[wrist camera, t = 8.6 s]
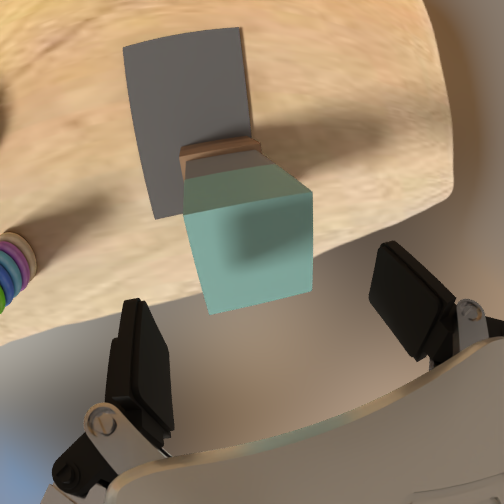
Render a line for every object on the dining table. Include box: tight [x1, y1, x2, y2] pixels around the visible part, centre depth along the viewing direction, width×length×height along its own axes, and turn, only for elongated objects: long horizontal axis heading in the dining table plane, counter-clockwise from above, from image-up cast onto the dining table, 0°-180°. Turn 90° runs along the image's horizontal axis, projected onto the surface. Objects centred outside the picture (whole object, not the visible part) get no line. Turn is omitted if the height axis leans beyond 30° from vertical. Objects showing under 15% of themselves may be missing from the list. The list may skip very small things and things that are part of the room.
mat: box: [123, 27, 252, 220], centre depth 26 cm, size 20×12×1 cm, turn 6°
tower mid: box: [185, 150, 275, 180], centre depth 21 cm, size 6×6×6 cm
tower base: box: [179, 136, 262, 181], centre depth 26 cm, size 7×7×6 cm
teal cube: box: [183, 164, 313, 315], centre depth 16 cm, size 6×6×6 cm
